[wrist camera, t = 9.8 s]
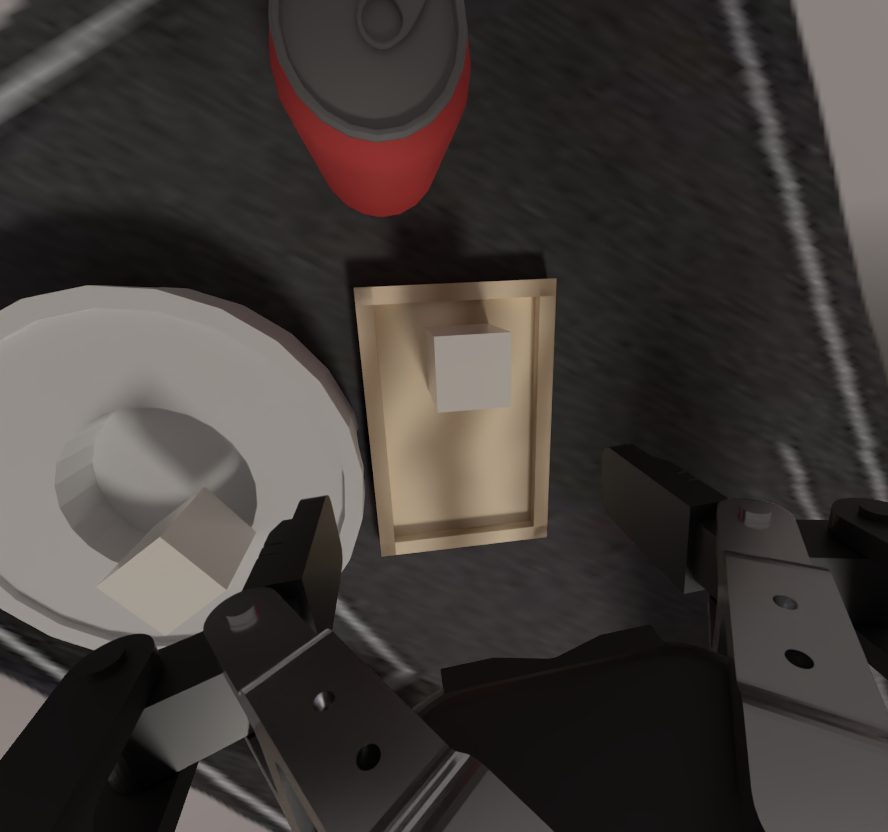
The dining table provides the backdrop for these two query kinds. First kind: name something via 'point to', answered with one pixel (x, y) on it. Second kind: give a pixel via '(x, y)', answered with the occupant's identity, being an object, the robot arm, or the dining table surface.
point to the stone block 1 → (181, 563)
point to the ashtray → (152, 442)
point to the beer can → (372, 91)
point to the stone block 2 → (468, 367)
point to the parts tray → (456, 417)
